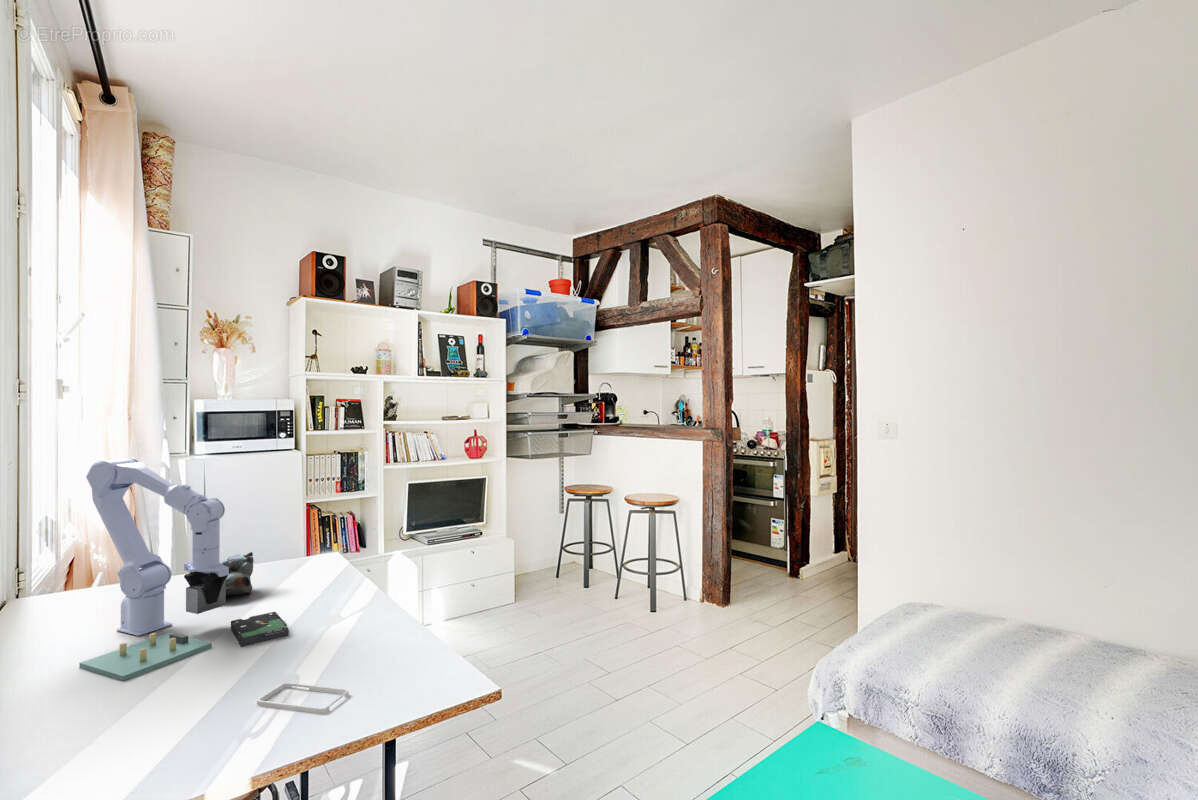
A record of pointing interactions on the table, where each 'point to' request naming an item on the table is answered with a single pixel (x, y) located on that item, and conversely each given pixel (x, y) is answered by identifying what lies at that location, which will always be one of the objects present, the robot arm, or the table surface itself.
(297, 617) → the table surface
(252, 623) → the disk drive
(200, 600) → the dark grey block
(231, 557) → the grey lumpy piece
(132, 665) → the teal peg board
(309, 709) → the phone case
